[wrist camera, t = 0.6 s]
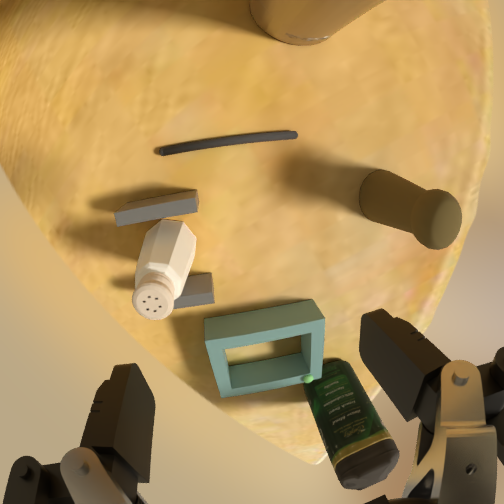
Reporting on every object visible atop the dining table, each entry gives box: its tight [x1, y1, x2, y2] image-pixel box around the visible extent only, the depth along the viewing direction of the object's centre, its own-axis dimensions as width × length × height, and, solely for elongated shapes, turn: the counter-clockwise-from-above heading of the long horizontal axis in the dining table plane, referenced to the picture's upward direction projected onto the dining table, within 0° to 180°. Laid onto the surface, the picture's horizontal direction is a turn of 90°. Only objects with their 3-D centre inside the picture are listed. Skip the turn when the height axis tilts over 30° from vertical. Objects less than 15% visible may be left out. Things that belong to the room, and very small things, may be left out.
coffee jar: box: [304, 361, 399, 490], centre depth 30 cm, size 10×8×19 cm
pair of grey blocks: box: [114, 190, 215, 309], centre depth 25 cm, size 10×7×4 cm
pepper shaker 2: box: [359, 170, 462, 250], centre depth 23 cm, size 6×6×11 cm
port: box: [204, 299, 325, 398], centre depth 31 cm, size 10×13×4 cm
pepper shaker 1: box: [132, 219, 197, 320], centre depth 22 cm, size 5×5×11 cm
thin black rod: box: [159, 131, 298, 156], centre depth 24 cm, size 13×1×1 cm, turn 96°
